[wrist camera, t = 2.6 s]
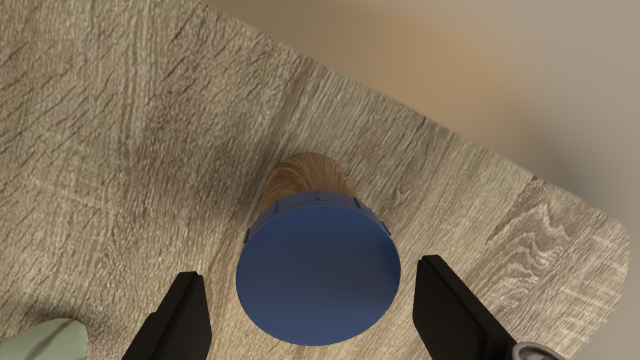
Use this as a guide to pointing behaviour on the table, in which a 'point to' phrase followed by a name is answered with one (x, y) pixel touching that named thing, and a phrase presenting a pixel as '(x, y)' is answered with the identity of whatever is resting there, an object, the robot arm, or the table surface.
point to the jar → (305, 178)
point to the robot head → (47, 342)
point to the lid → (317, 269)
